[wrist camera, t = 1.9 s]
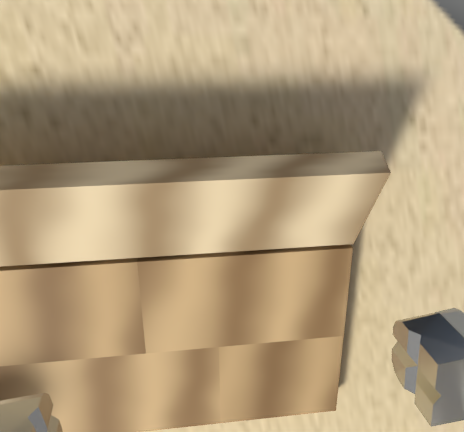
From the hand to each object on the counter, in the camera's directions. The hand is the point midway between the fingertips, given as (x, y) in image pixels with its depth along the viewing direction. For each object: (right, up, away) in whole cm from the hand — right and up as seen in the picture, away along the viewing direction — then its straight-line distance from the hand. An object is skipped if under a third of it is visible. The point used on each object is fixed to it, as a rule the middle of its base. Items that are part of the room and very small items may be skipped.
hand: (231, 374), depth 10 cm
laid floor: (-4, -5, +22) cm, 22 cm away
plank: (-4, +5, +16) cm, 17 cm away
